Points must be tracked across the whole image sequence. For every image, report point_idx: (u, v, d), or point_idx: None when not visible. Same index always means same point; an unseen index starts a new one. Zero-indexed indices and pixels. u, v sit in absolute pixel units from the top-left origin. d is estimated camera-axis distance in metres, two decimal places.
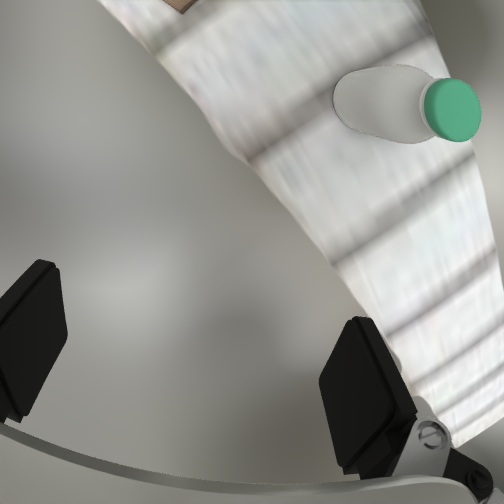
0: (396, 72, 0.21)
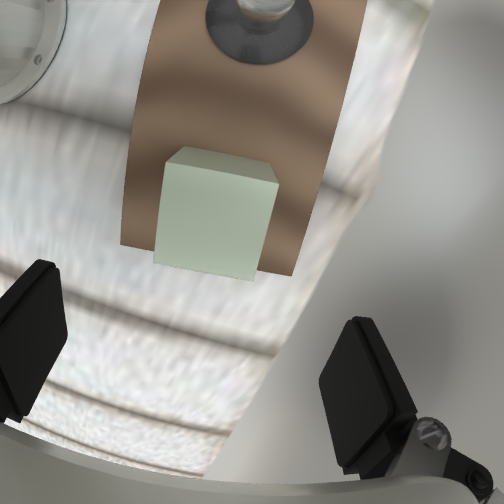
0: None
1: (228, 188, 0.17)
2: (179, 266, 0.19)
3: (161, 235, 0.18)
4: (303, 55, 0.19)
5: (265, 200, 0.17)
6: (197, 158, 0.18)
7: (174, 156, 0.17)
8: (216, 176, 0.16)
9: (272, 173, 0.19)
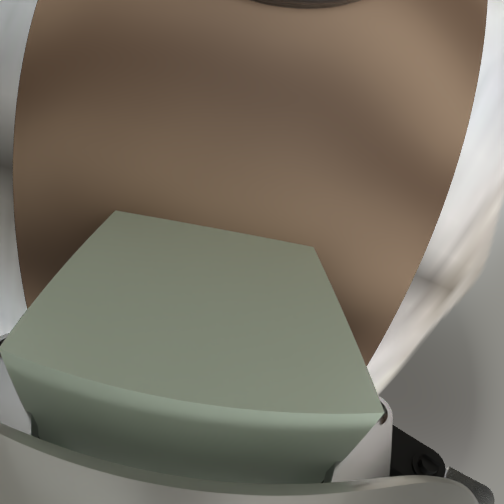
0: None
1: (214, 434, 0.04)
2: None
3: None
4: None
5: (331, 446, 0.05)
6: (120, 284, 0.06)
7: (51, 286, 0.05)
8: (167, 411, 0.04)
9: (342, 320, 0.06)
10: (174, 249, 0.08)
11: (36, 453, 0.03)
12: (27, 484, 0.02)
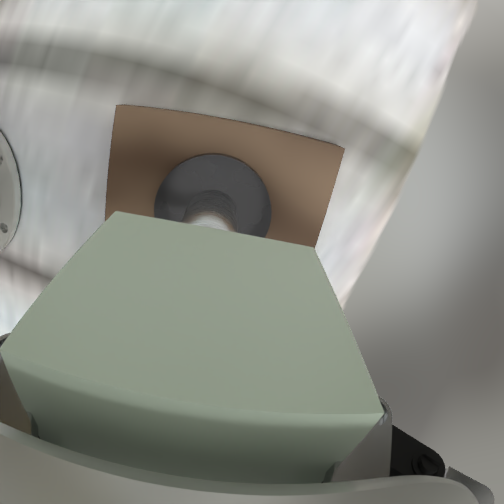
0: None
1: (214, 435, 0.04)
2: None
3: None
4: None
5: (332, 446, 0.05)
6: (121, 284, 0.06)
7: (51, 287, 0.05)
8: (167, 411, 0.04)
9: (342, 320, 0.06)
10: (174, 249, 0.08)
11: (36, 453, 0.03)
12: (27, 484, 0.02)
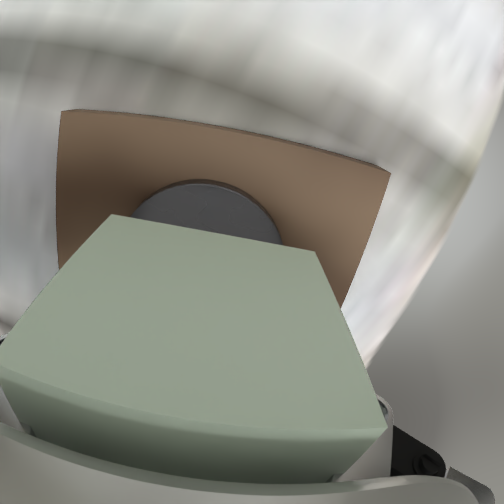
0: None
1: (211, 450, 0.04)
2: None
3: None
4: None
5: (333, 460, 0.04)
6: (115, 292, 0.06)
7: (44, 295, 0.05)
8: (162, 427, 0.04)
9: (344, 329, 0.06)
10: (171, 255, 0.07)
11: (36, 453, 0.03)
12: (27, 484, 0.02)
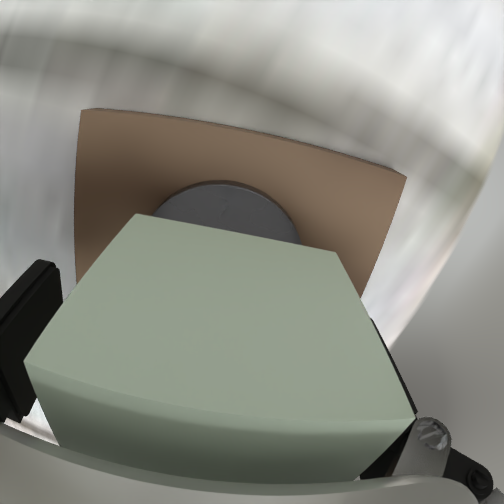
0: None
1: (251, 444, 0.04)
2: None
3: None
4: None
5: (362, 451, 0.05)
6: (148, 291, 0.06)
7: (75, 294, 0.05)
8: (206, 423, 0.04)
9: (369, 327, 0.06)
10: (200, 254, 0.08)
11: (36, 453, 0.03)
12: (27, 484, 0.02)
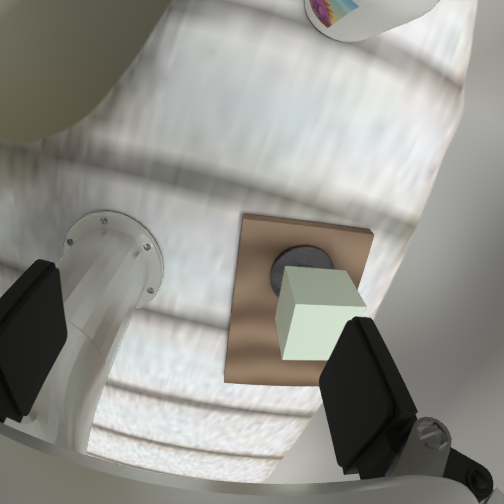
0: (394, 0, 0.13)
1: (335, 314, 0.25)
2: (299, 359, 0.27)
3: (289, 344, 0.26)
4: None
5: None
6: (307, 287, 0.27)
7: (293, 290, 0.26)
8: (328, 308, 0.25)
9: (356, 290, 0.27)
10: (311, 277, 0.28)
11: (36, 453, 0.03)
12: (27, 484, 0.02)
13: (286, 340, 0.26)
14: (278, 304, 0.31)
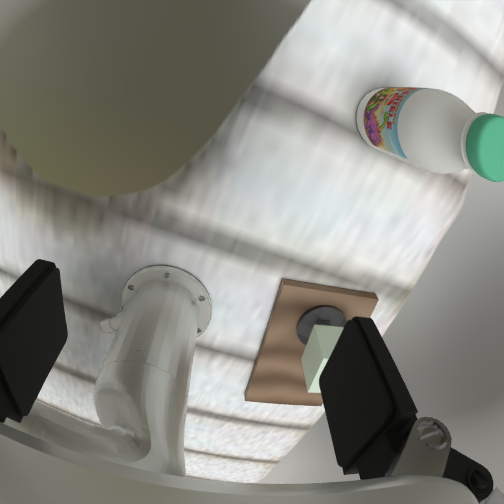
0: (436, 169, 0.22)
1: None
2: (319, 392, 0.36)
3: (314, 382, 0.35)
4: None
5: None
6: (330, 344, 0.36)
7: (321, 347, 0.35)
8: None
9: None
10: (333, 335, 0.37)
11: (36, 453, 0.03)
12: (27, 484, 0.02)
13: (312, 380, 0.35)
14: (305, 350, 0.40)
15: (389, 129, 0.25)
